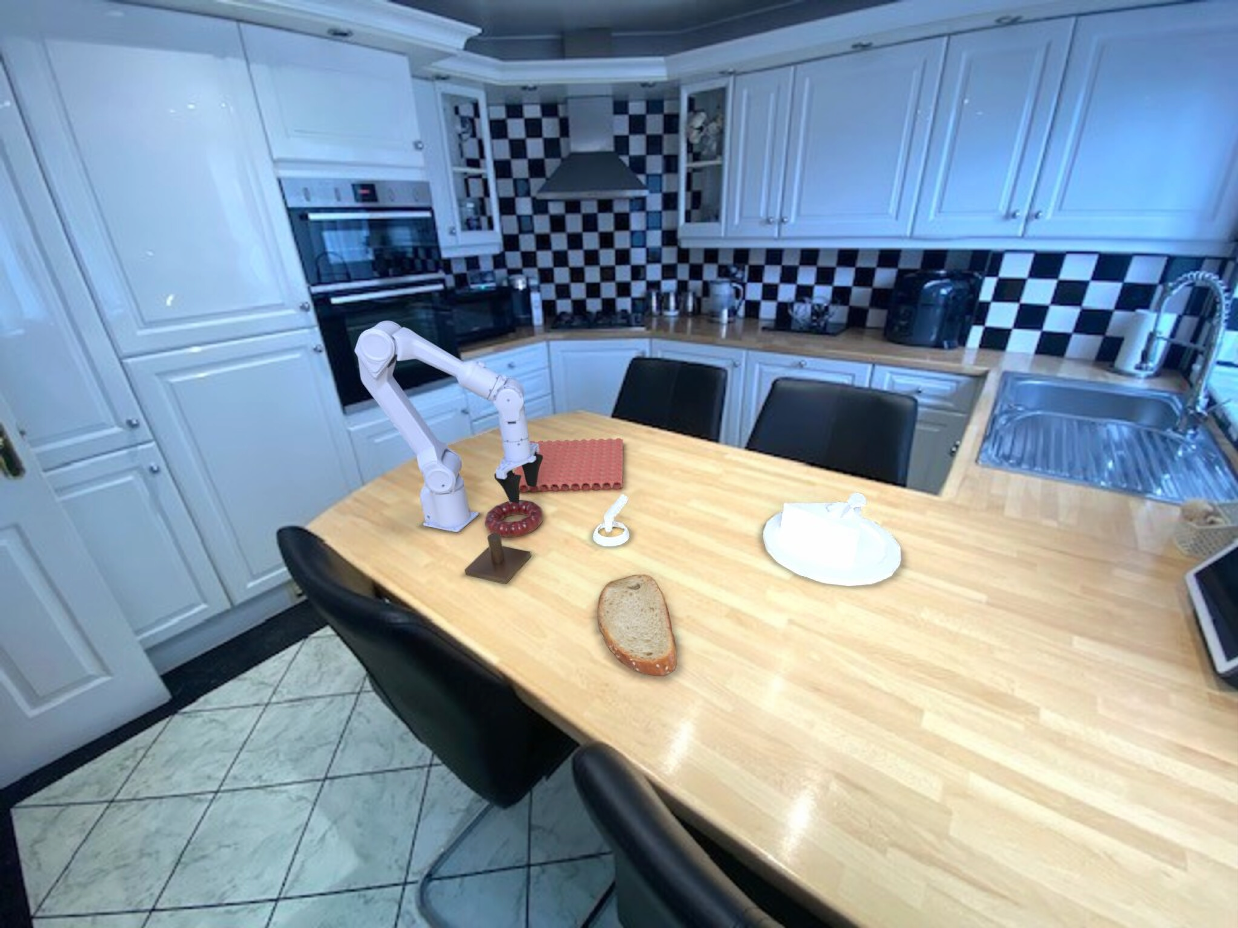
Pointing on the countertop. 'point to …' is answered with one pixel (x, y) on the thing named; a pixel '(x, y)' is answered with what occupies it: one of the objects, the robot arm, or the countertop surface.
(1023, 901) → the countertop surface
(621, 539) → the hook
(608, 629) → the bread slice
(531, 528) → the ring
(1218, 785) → the countertop surface
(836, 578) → the dish
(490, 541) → the post
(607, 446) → the egg carton
